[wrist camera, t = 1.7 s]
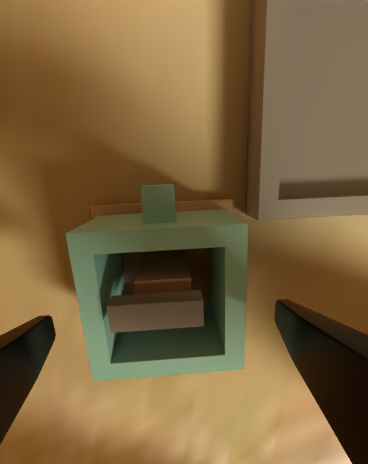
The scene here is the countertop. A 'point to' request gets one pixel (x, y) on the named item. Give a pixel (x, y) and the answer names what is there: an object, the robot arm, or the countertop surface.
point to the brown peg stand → (162, 279)
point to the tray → (308, 109)
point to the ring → (112, 283)
